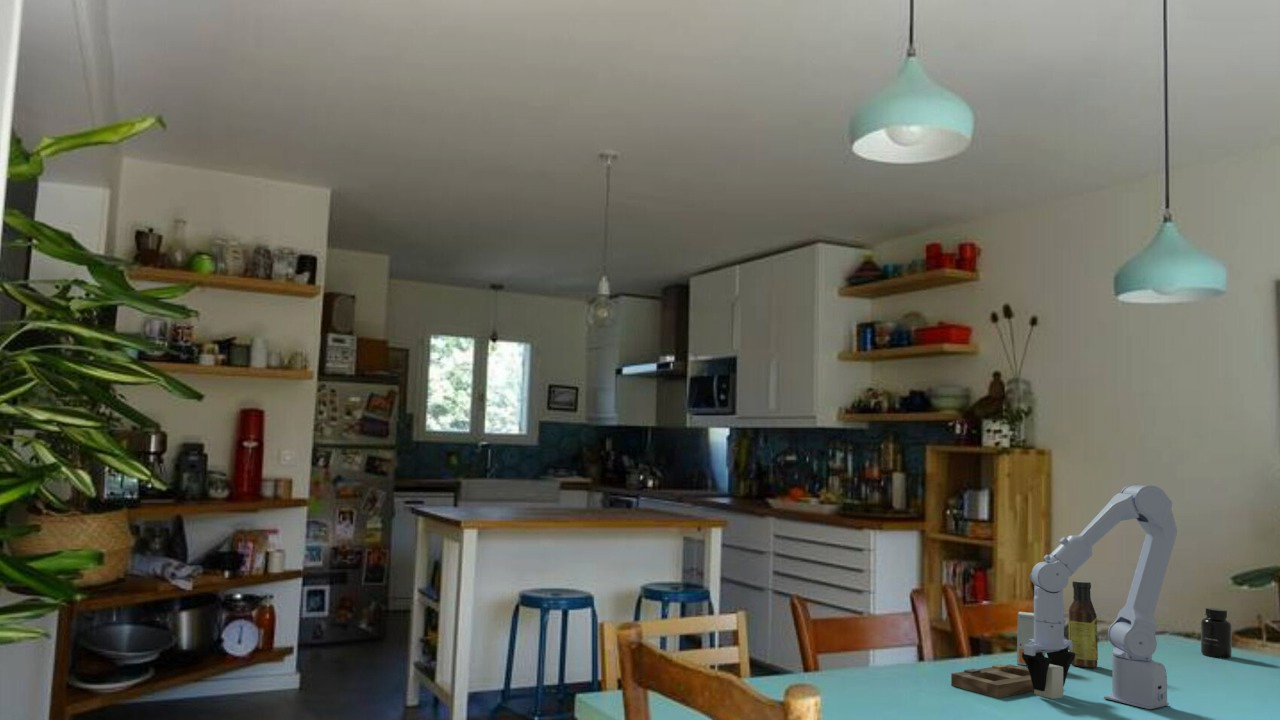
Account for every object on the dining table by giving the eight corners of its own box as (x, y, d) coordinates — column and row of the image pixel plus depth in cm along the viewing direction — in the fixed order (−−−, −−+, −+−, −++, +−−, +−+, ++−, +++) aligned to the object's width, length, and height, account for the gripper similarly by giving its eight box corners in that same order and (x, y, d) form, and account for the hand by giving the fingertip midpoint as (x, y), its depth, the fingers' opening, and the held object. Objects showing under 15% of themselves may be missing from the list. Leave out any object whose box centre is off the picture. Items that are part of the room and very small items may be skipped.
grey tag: (980, 672, 199) (980, 670, 199) (971, 673, 197) (971, 671, 197) (973, 670, 201) (973, 668, 201) (964, 672, 199) (964, 670, 199)
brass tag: (1008, 667, 205) (1008, 666, 205) (999, 669, 203) (999, 667, 203) (1000, 666, 206) (1000, 664, 206) (992, 667, 205) (992, 665, 205)
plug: (1063, 696, 191) (1063, 666, 192) (1052, 699, 189) (1052, 668, 190) (1045, 692, 195) (1045, 662, 195) (1034, 694, 192) (1034, 664, 193)
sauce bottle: (1102, 669, 220) (1102, 583, 222) (1076, 668, 220) (1075, 582, 222) (1090, 663, 226) (1089, 580, 228) (1064, 662, 226) (1063, 579, 228)
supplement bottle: (1205, 657, 241) (1204, 609, 242) (1198, 652, 247) (1197, 606, 248) (1235, 659, 239) (1234, 612, 240) (1227, 654, 245) (1226, 608, 246)
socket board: (1055, 686, 200) (1055, 674, 200) (997, 698, 188) (997, 685, 188) (1009, 675, 209) (1009, 664, 209) (951, 685, 197) (951, 673, 197)
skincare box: (1016, 664, 221) (1016, 613, 222) (1018, 661, 224) (1018, 611, 226) (1044, 668, 218) (1044, 616, 219) (1045, 665, 222) (1045, 614, 223)
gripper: (1050, 615, 201) (1050, 680, 200) (1010, 619, 193) (1010, 687, 191) (1081, 621, 195) (1082, 687, 194) (1042, 625, 187) (1042, 695, 185)
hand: (1048, 688), depth 192 cm, fingers open, 6 cm apart
